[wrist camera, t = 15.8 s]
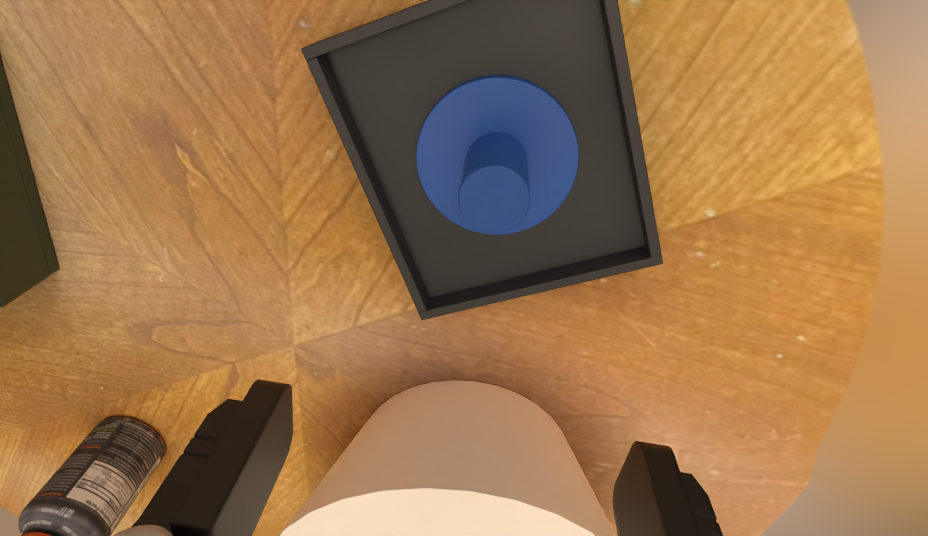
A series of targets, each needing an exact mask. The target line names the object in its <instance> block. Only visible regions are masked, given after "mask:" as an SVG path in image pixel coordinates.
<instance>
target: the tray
mask: <svg viewBox="0 0 928 536" xmlns="http://www.w3.org/2000/svg"><path fill="white" fill-rule="evenodd" d="M302 52H303V54H304V57H305V59H306V60H307V64H308V66H309V68H310V70H311V72H312V75H313V77H314V79H315V81H316V84H317V86H318V88H319V90H320V93H321V95H322V97H323V99H324V102H325V104H326V106H327V108H328V111H329V113H330V115H331V117H332V120H333V122H334V124H335V126H336V129H337V131H338V133H339V135H340V138H341V140H342V142H343V144H344V147H345V149H346V151H347V153H348V156H349V158H350V160H351V162H352V164H353V167H354V169H355V171H356V173H357V176H358V178H359V180H360V182H361V185H362V187H363V189H364V191H365V194H366V196H367V198H368V200H369V203H370V205H371V207H372V209H373V212H374V214H375V216H376V218H377V221H378V223H379V225H380V227H381V230H382V232H383V234H384V236H385V239H386V241H387V243H388V245H389V248H390V250H391V252H392V254H393V256H394V259H395V261H396V263H397V265H398V268H399V270H400V272H401V274H402V277H403V279H404V281H405V283H406V286H407V288H408V290H409V292H410V295H411V297H412V299H413V301H414V304H415V306H416V308H417V310H418V312H419V315H420V317H421V319H422V320H424V319H428V318H433V317H437V316H441V315H445V314H450V313H454V312H458V311H462V310H467V309H471V308H475V307H480V306H484V305H488V304H492V303H497V302H501V301H505V300H509V299H514V298H518V297H522V296H527V295H531V294H535V293H539V292H544V291H548V290H552V289H556V288H561V287H565V286H569V285H574V284H578V283H582V282H586V281H591V280H595V279H599V278H604V277H608V276H612V275H616V274H621V273H625V272H629V271H633V270H638V269H642V268H646V267H651V266H655V265H659V264H663V261H662V255H661V249H660V243H659V238H658V232H657V226H656V220H655V214H654V209H653V203H652V197H651V191H650V186H649V180H648V174H647V168H646V162H645V157H644V151H643V145H642V139H641V134H640V128H639V122H638V116H637V110H636V105H635V99H634V93H633V87H632V82H631V76H630V70H629V64H628V58H627V53H626V47H625V41H624V35H623V30H622V24H621V18H620V12H619V6H618V1H617V0H428V1H425V2H423V3H420V4H417V5H415V6H412V7H409V8H407V9H404V10H401V11H399V12H396V13H393V14H391V15H388V16H385V17H383V18H380V19H377V20H375V21H372V22H369V23H367V24H364V25H361V26H359V27H356V28H353V29H351V30H348V31H345V32H343V33H340V34H337V35H335V36H332V37H329V38H327V39H324V40H321V41H319V42H316V43H314V44H311V45H309V46H306V47H304V48H302ZM488 75H508V76H515V77H519V78H522V79H526V80H528V81H530V82H533V83H535V84H537V85H539V86H540V87H542V88H543V89H545V90H546V91H548V92H549V93H550V94H551V95H552V96H553V97H555V98H556V100H557V101H558V102H559V103H560V104H561V105H562V107H563V108H564V110H565V111H566V113H567V114H568V116H569V118H570V120H571V122H572V125H573V127H574V130H575V133H576V137H577V142H578V148H579V162H578V170H577V174H576V178H575V181H574V183H573V186H572V188H571V190H570V192H569V194H568V195H567V197H566V199H565V200H564V201H563V203H562V204H561V205H560V206H559V208H558V209H557V210H556V211H555V212H554V213H553V214H551V215H550V216H549V217H548V218H546V219H545V220H543V221H542V222H540V223H539V224H537V225H535V226H533V227H531V228H529V229H526V230H523V231H520V232H516V233H511V234H501V235H493V234H483V233H478V232H474V231H471V230H468V229H466V228H463V227H461V226H459V225H457V224H455V223H454V222H452V221H451V220H449V219H448V218H447V217H445V216H444V215H443V214H442V213H441V212H440V211H439V210H438V209H437V208H436V207H435V206H434V205H433V204H432V202H431V201H430V199H429V198H428V196H427V195H426V193H425V191H424V189H423V187H422V185H421V182H420V179H419V175H418V170H417V165H416V150H417V142H418V138H419V134H420V131H421V128H422V126H423V123H424V122H425V120H426V118H427V116H428V114H429V112H430V111H431V110H432V108H433V107H434V106H435V104H436V103H437V102H438V101H439V100H440V99H441V98H442V97H443V96H444V95H445V94H446V93H448V92H449V91H450V90H451V89H453V88H454V87H456V86H458V85H460V84H461V83H464V82H466V81H468V80H471V79H474V78H478V77H482V76H488Z"/></svg>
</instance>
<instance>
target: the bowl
mask: <svg viewBox="0 0 928 536" xmlns="http://www.w3.org/2000/svg"><path fill="white" fill-rule="evenodd" d="M279 536H616V535H615V533H614V531H613V529H612V527H611V525H610V523H609V521H608V519H607V517H606V516H605V514H604V512H603V510H602V508H601V506H600V504H599V502H598V500H597V498H596V496H595V494H594V492H593V490H592V488H591V486H590V485H589V483H588V481H587V479H586V477H585V475H584V473H583V471H582V469H581V467H580V465H579V463H578V461H577V459H576V457H575V455H574V454H573V452H572V450H571V448H570V446H569V444H568V442H567V440H566V438H565V436H564V434H563V432H562V430H561V429H560V428H559V426H558V425H557V424H556V422H555V421H554V420H553V418H552V417H551V416H550V415H549V414H548V413H546V412H545V411H544V410H543V409H542V408H541V407H539V406H538V405H537V404H536V403H534V402H532V401H530V400H529V399H527V398H525V397H523V396H522V395H520V394H518V393H515V392H513V391H510V390H507V389H505V388H502V387H499V386H496V385H491V384H486V383H481V382H476V381H460V380H450V381H439V382H431V383H427V384H423V385H419V386H415V387H412V388H409V389H407V390H405V391H403V392H401V393H399V394H396V395H394V396H393V397H391V398H390V399H389V400H387V401H386V402H385V403H383V404H382V405H381V406H379V407H378V409H377V410H376V411H375V412H374V413H373V415H372V416H371V417H370V418H369V419H368V421H367V422H366V423H365V425H364V426H363V427H362V428H361V430H360V431H359V432H358V434H357V435H356V436H355V438H354V439H353V440H352V441H351V443H350V444H349V445H348V447H347V448H346V449H345V450H344V452H343V453H342V454H341V456H340V457H339V458H338V460H337V461H336V462H335V463H334V465H333V466H332V467H331V469H330V470H329V471H328V472H327V474H326V475H325V476H324V478H323V479H322V480H321V481H320V483H319V484H318V485H317V487H316V488H315V489H314V491H313V492H312V493H311V494H310V496H309V497H308V498H307V500H306V501H305V502H304V503H303V505H302V506H301V507H300V509H299V510H298V511H297V513H296V514H295V515H294V516H293V518H292V519H291V520H290V522H289V523H288V524H287V525H286V527H285V528H284V529H283V531H282V532H281V533H280V534H279Z"/></svg>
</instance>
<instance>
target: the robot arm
mask: <svg viewBox="0 0 928 536" xmlns="http://www.w3.org/2000/svg"><path fill="white" fill-rule="evenodd" d="M292 435H293V412H292V388H291V385H289V384H283V383H277V382H271V381H264V380H256V381H255V382H254V383H253V385H252V386H251V388H250V390H249V391H248V393H247V395H246V396H245V398H244V400H243V401H238V400H232V399H227V400H226V401H225V402H223V403H222V404H221V405H219V406H218V407H217V408H216V409H214V410H213V411H212V412H210V413H209V414H208V415H207V416H206V418H205V419H204V421H203V422H202V424H201V425H200V427H199V428H198V430H197V431H196V433H195V436H194V438H192V439H191V441H190V442H189V444H188V445H187V447H186V448H185V450H184V453H183V455H181V456H180V457H179V459H178V460H177V462H176V463H175V465H174V466H173V468H172V469H171V471H170V472H169V474H168V475H167V477H166V478H165V480H164V481H163V483H162V484H161V486H160V488H159V489H158V491H157V492H156V494H155V495H154V497H153V498H152V500H151V501H150V503H149V504H148V506H147V507H146V509H145V510H144V512H143V513H142V515H141V516H140V518H139V519H138V520H137V521H136V523H135V524H134V525H133V526H132V527H131V528H128V529H126V530H123V531H121V532H119V533H117V534H116V535H114V536H252V534H253V532H254V530H255V528H256V525H257V523H258V521H259V519H260V516H261V514H262V512H263V510H264V507H265V505H266V503H267V501H268V498H269V496H270V494H271V492H272V489H273V487H274V485H275V483H276V480H277V478H278V476H279V474H280V471H281V469H282V467H283V465H284V462H285V460H286V458H287V455H288V452H289V449H290V446H291V441H292ZM613 510H614V516H615V521H616V526H617V532H618V536H723V534H722V532H721V529H720V526H719V524H718V523H717V522H716V519H717V518H716V516H715V513H714V510H713V508H712V505H711V502H710V500H709V497H708V495H707V494H706V492H705V491H704V490H703V488H702V487H701V486H700V484H699V483H698V482H697V480H696V479H695V478H694V477H693V475H692V474H688V473H682V472H680V471H679V468H678V465H677V462H676V459H675V456H674V453H673V451H672V449H671V448H670V447H669V446H664V445H657V444H651V443H645V442H639V441H636V442H634V443H633V445H632V447H631V449H630V451H629V453H628V456H627V458H626V460H625V462H624V465H623V467H622V469H621V471H620V473H619V476H618V478H617V480H616V483H615V486H614V491H613Z"/></svg>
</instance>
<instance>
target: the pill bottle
mask: <svg viewBox="0 0 928 536" xmlns="http://www.w3.org/2000/svg"><path fill="white" fill-rule="evenodd" d="M164 454H165V447H164V444H163V441H162V439H161V438H160V436H159V435H158V434H157V433H156V432H155V431H154V430H153V429H151V428H150V427H149V426H147V425H145V424H143V423H141V422H139V421H136V420H133V419H130V418H124V417H113V418H108V419H105V420H103V421H101V422H100V423H99V424H98V425H97V426H96V427H95V428H94V429H93V430H92V431H91V432H90V433H89V435H88V436H87V437H86V438H85V439H84V440H83V442H82V443H81V444H80V445H79V446H78V447H77V448H76V450H75V451H74V452H73V453H72V454H71V455H70V456H69V458H68V459H67V460H66V461H65V462H64V463H63V465H62V466H61V467H60V468H59V469H58V470H57V471H56V473H55V474H54V475H53V476H52V477H51V478H50V480H49V481H48V482H47V483H46V484H45V485H44V486H43V488H42V489H41V490H40V491H39V492H38V493H37V494H36V496H35V497H34V498H33V499H32V500H31V501H30V502H29V504H28V505H27V506H26V507H25V508H24V509H23V511H22V513H21V515H20V517H19V530H20V532H21V534H22V535H21V536H110V535H111V534H112V533H113V531H114V530H115V528H116V527H117V525H118V524H119V522H120V521H121V519H122V518H123V516H124V515H125V513H126V512H127V510H128V509H129V507H130V506H131V504H132V503H133V501H134V500H135V498H136V497H137V496H138V494H139V493H140V491H141V490H142V488H143V487H144V485H145V484H146V482H147V481H148V479H149V478H150V476H151V475H152V474H153V472H154V471H155V469H156V468H157V466H158V465H159V463H160V462H161V460H162V459H163V457H164Z"/></svg>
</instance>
